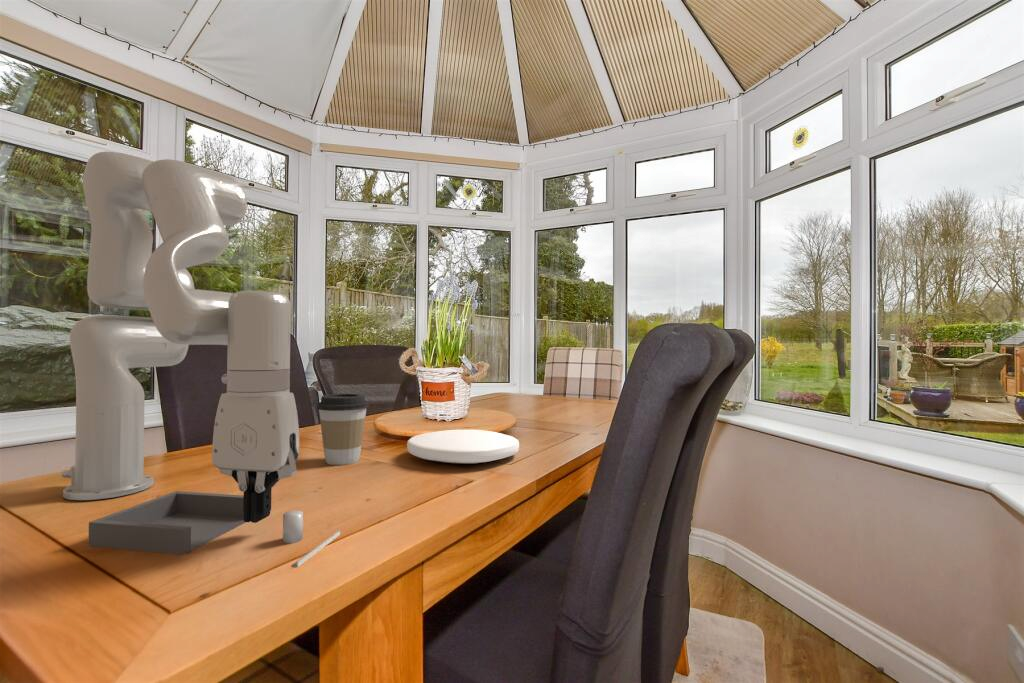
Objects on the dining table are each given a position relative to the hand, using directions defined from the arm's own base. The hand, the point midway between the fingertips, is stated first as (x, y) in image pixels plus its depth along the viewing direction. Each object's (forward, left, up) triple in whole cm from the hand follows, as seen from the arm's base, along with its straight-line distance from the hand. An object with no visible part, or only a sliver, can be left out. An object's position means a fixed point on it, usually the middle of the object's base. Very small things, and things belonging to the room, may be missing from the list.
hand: (257, 518), depth 65 cm
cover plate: (+3, 0, -4) cm, 5 cm away
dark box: (-11, 0, -3) cm, 12 cm away
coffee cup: (-11, +44, -4) cm, 46 cm away
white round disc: (+15, +54, -4) cm, 56 cm away
